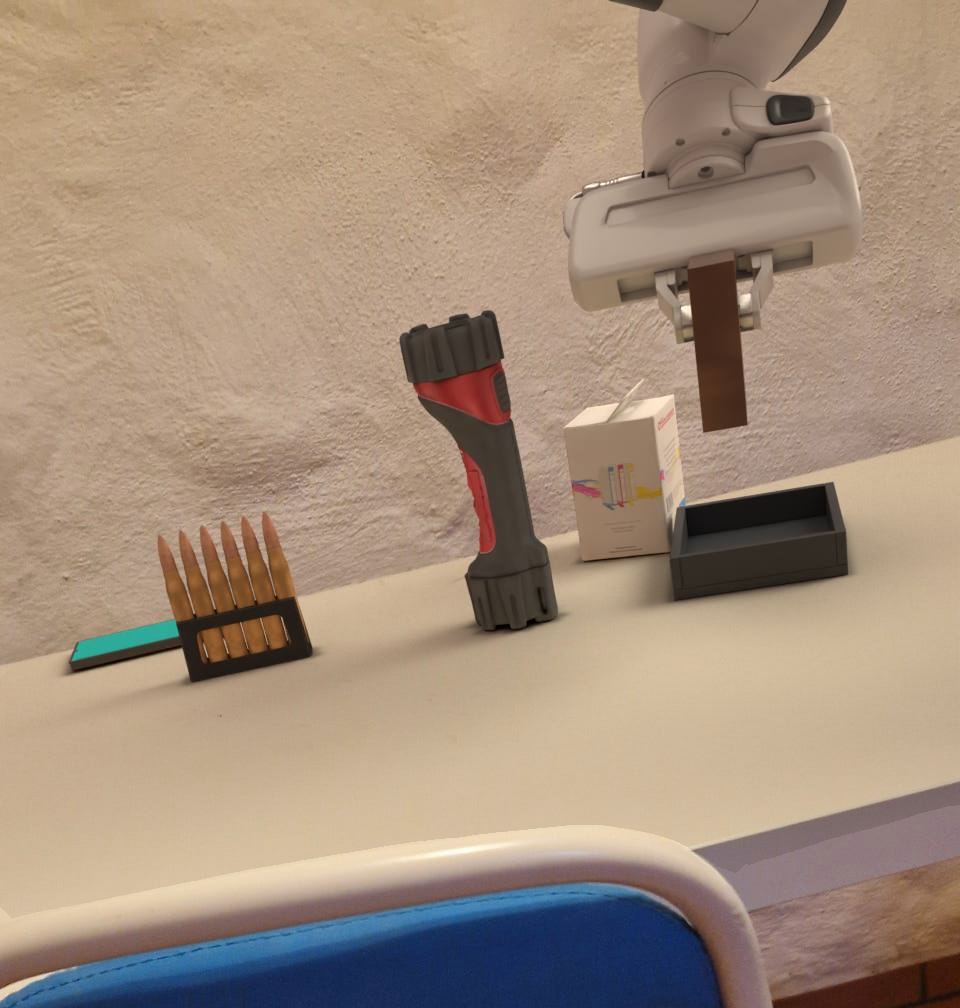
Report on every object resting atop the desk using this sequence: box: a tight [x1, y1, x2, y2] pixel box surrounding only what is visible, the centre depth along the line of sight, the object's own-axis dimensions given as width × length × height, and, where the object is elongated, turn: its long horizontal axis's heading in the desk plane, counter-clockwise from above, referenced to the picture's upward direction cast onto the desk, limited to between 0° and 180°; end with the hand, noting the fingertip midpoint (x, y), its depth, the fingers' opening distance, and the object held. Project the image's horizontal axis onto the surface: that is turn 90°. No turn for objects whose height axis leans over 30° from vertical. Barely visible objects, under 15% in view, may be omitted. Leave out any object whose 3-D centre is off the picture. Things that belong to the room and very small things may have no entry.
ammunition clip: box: [157, 510, 314, 683], centre depth 117 cm, size 11×2×12 cm, turn 94°
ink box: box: [562, 378, 687, 562], centre depth 126 cm, size 9×8×13 cm
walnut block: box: [687, 248, 749, 434], centre depth 95 cm, size 3×8×10 cm, turn 171°
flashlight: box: [398, 309, 559, 631], centre depth 111 cm, size 8×8×23 cm
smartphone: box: [68, 618, 223, 671], centre depth 132 cm, size 7×1×15 cm
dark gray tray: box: [669, 481, 849, 601], centre depth 117 cm, size 14×17×3 cm
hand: (718, 331), depth 96 cm, fingers closed on walnut block, 3 cm apart
